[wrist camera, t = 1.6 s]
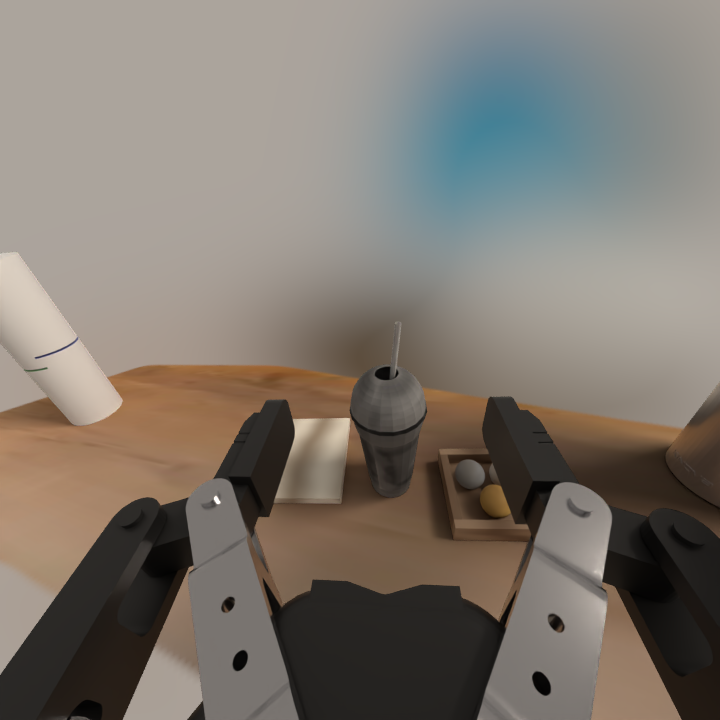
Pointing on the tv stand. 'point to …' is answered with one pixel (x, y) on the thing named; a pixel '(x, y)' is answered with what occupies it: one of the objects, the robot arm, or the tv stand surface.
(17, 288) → the cylindrical container
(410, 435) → the beverage cup
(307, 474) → the ash board
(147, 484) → the tv stand surface
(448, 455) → the marble tray
